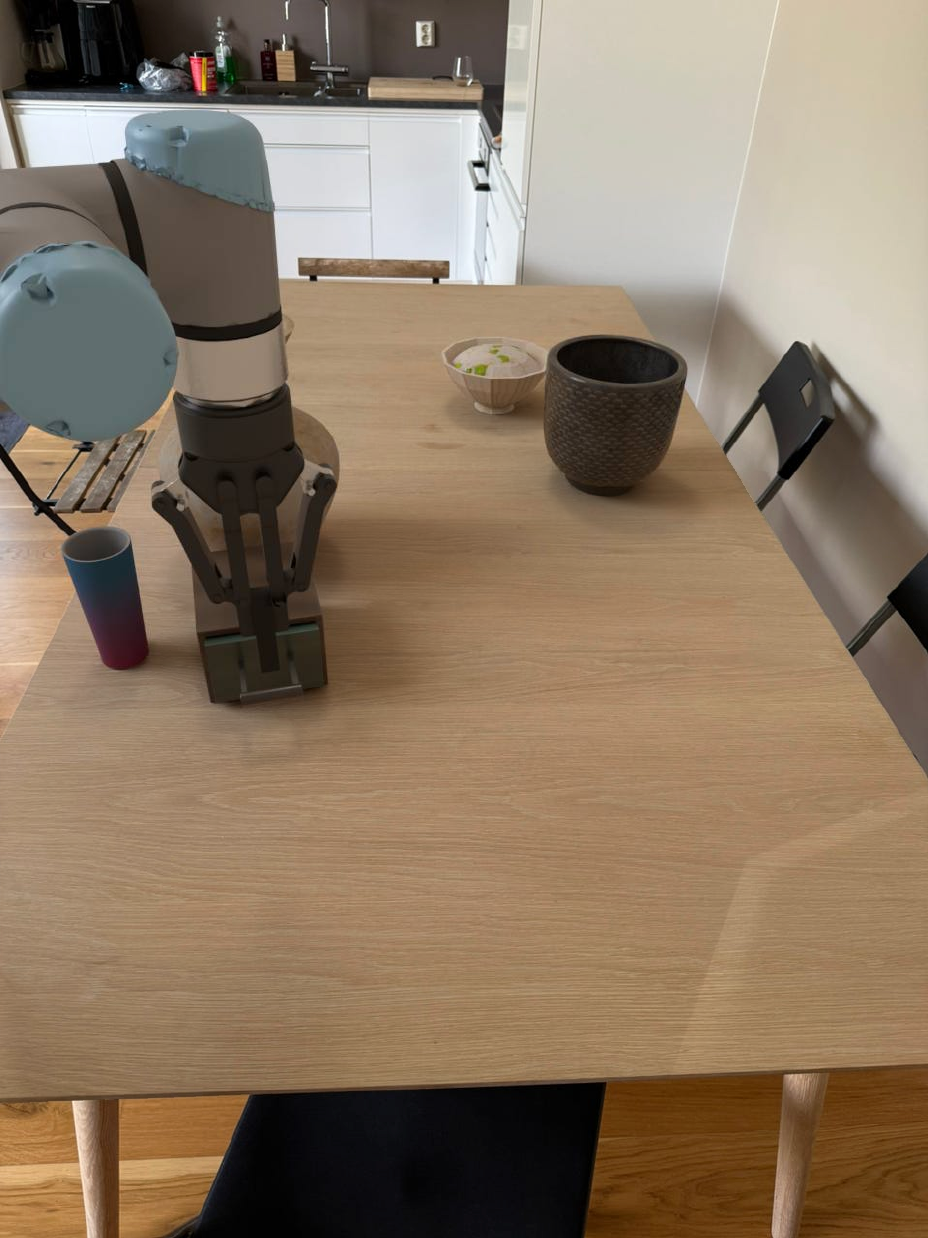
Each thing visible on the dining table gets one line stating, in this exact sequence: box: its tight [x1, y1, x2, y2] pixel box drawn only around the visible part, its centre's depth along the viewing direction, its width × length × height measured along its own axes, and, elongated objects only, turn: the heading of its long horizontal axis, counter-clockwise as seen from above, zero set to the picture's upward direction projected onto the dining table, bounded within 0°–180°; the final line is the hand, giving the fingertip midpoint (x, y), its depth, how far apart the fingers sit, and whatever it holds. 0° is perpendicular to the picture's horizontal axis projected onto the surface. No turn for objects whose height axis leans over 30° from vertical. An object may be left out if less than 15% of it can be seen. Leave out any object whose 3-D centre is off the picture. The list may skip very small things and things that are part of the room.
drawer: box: [204, 622, 325, 708], centre depth 95 cm, size 20×11×8 cm, turn 16°
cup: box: [60, 525, 150, 671], centre depth 96 cm, size 7×7×15 cm
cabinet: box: [190, 541, 329, 703], centre depth 99 cm, size 15×13×10 cm
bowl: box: [440, 336, 550, 415], centre depth 153 cm, size 19×19×10 cm
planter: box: [543, 333, 689, 497], centre depth 130 cm, size 20×20×19 cm
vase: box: [157, 313, 341, 552], centre depth 109 cm, size 22×22×30 cm
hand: (269, 661), depth 72 cm, fingers closed
